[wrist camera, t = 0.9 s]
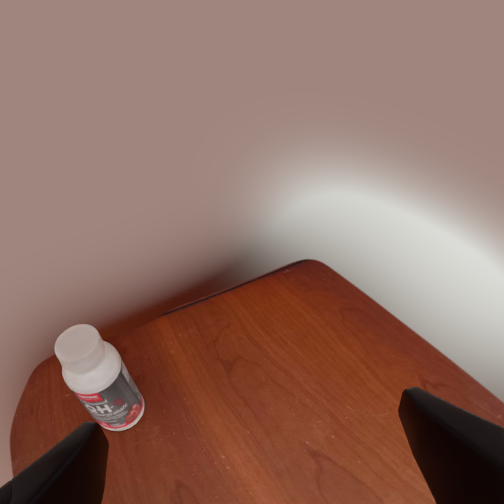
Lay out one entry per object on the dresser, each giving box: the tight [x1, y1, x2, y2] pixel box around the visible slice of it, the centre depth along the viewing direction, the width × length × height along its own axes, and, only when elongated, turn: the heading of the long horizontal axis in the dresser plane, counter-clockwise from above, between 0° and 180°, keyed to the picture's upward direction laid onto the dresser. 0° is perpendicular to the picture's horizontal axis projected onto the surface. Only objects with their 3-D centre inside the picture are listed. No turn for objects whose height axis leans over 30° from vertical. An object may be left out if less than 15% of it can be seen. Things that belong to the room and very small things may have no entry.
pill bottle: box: [55, 324, 144, 431], centre depth 23 cm, size 5×5×10 cm
